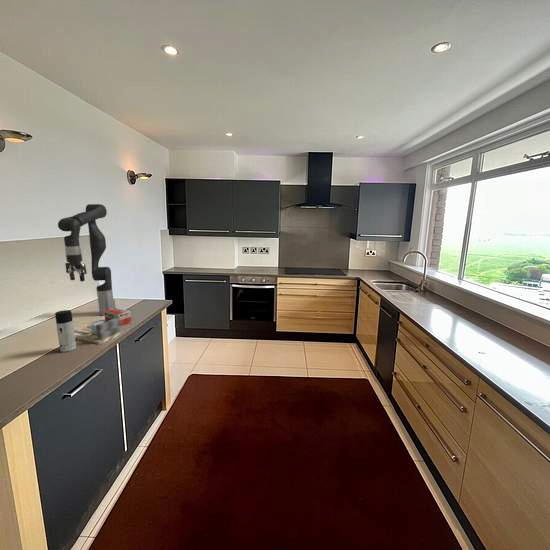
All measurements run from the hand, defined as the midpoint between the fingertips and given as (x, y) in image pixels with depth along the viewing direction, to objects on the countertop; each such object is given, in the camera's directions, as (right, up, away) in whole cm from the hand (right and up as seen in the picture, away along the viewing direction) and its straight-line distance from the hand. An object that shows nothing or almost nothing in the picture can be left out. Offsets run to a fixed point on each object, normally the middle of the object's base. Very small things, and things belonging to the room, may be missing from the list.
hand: (77, 280), depth 172 cm
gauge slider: (+18, -30, -11) cm, 37 cm away
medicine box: (+16, -28, +14) cm, 35 cm away
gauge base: (+15, -31, -7) cm, 35 cm away
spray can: (+12, -35, -24) cm, 44 cm away
